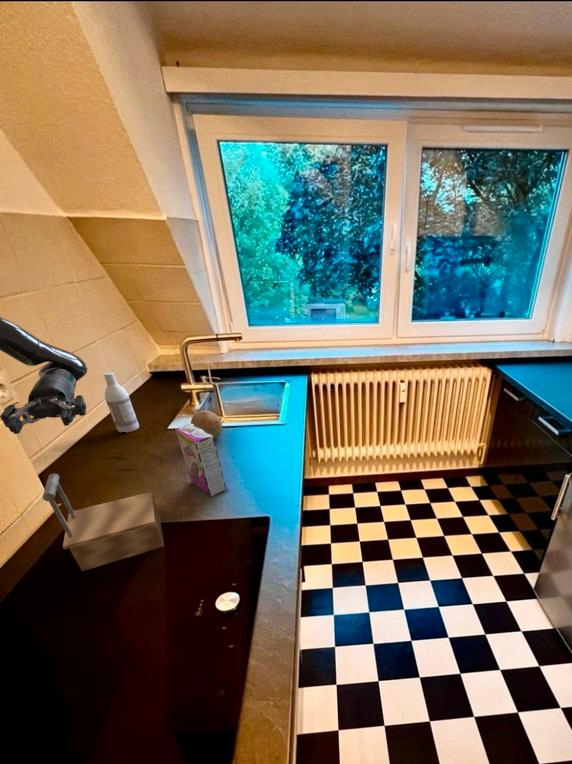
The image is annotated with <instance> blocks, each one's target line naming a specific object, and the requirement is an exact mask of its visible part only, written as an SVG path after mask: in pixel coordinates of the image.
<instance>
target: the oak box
mask: <svg viewBox="0 0 572 764" xmlns="http://www.w3.org/2000/svg"><path fill="white" fill-rule="evenodd" d="M152 498H153V507H154V515H155V523H156V524H154V525H150V526H147V527H143V528H140V529H136V530H133V531H129V532H125V533H122V534H118V535H115V536H111V537H107V538H104V539H100V540H97V541H93V542H90V543H86V544H82V545H79V546H75V547H72V548H68V549H69V551H70V552H71V554H72V556H73V558H74V560H75V561H76V563H77V565H78V566H79V569H80V570H81V572H84V571H89V570H91V569H94V568H97V567H101V566H104V565H108V564H111V563H115V562H117V561H120V560H124V559H127V558H130V557H134V556H138V555H141V554H144V553H147V552H151V551H155V550H157V549H160V548H161V549H162V548H164V547H165V541H164V535H163V527H162V521H161V514H160V511H159V510H158V507H157V503H156V502H155V499H154V495H152Z"/></svg>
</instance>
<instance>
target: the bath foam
mask: <svg viewBox="0 0 572 764" xmlns="http://www.w3.org/2000/svg"><path fill="white" fill-rule="evenodd" d="M103 377H104V380H105V383H106V388H105V391H104V399H105V402H106V405H107V407H108V410H109V412H110V413H109V414H110V415H111V418H112V421H113V423H114V425H115V428H116V430H117V432H119V433H121V432H126V433H128V434H129V433H132V432H135V431H137V430H138V429H139V428H140V424H139V421H138V419H137V416H136V413H135V410H134V408H133V404H132V402H131V398H130V395H129V394H128V392H127V390H126V389H125V388H124V387H123V386H121V385H120V384H119V383H118V382H117V379H116V376H115V373H114V372H113V371H107V372H104V373H103ZM126 433H125V434H126Z"/></svg>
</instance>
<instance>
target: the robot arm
mask: <svg viewBox="0 0 572 764" xmlns="http://www.w3.org/2000/svg"><path fill="white" fill-rule="evenodd" d="M0 352H3V353H4V354H6V355H7V356H10V357H11V358H13V359H14V360H16V361H18V362H20V363H21V364H23V365H25V366H28V367H37V366H39V365H42V364H44V363H46V364H44V365H43V366H42V367H41V369H39V371H38V377H39V379H37V380H36V382H35V383H34V385H33V387H32V389H31V390H30V392H29V394H28V397H27V403H25V404H23V406H21V407H16V405H15V404H10V405H8V406H6V408H5V409H4V410H3V412H2V413H1V414H0V419H1V421H2V423H3V424H4V426H5V427H6V428H8V430H9V431H10V433H13V434H14V435H18V434H20V433H21V431H22V429H23V427H24V426H26V425H27V424H31V425H32V424H34V423H36V422H38V421H40V420H44V419H45V420H46V419H47V418H49V419H50V418H51V419H56V418H60V420H61V422H62V423H63V426H64V427H67V426H70V424H71V423H73V421H74V419H76V417H77V416H78V415H79V416H80V417H82V416H85V415H86V414H87V403H86V401H85V399H84V397H83V395H82V394H79V395H78V394H77V395H76V394H75V392H76V389H77V382H78V381H80V380H81V379H82V378H83V377H85V376H86V375H87V373H88V366H87V364H86V361H84V359H82V358H81V357H80V356H78V355H76V354H75V353H73V352H71V351H68V350H66V349H63V348H60V347H57V346H55V345H52V344H50V343H48V342H45V341H43V340H42V339H40V338H38V337H37V336H35V335H34V334H32V333H30V331H27V330H26V329H24V328H23V327H22V326H20V325H18V324H16V323H15V322H12V321H10V320H8V319H6V318H4V317H2V316H0ZM75 395H76V396H75ZM21 419H22V420H21Z"/></svg>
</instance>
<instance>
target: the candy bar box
mask: <svg viewBox="0 0 572 764" xmlns="http://www.w3.org/2000/svg"><path fill="white" fill-rule="evenodd" d="M174 431H175V434H176V436H177V440H178V443H179V447H180V450H181V452H182V453H181V454H182V455H183V459H184V463H185V466H186V469H187V473H188V476H189V479H190V482H191V483H193V484H194V485H195V486H197V487H198V488H199V489H200V490H202V491H203V492H204V493H205V494H206V495H208V496H209V497H210V498H212V497H214V496H216V495H219V494H220V493H223V492H224V491H227V487H226V482H225V478H224V474H223V471H222V468H221V461H220V458H219V455H218V451H217V447H216V443H215V439H214V438H213V436H212V435H210V434H208V433H207V432H205V431H204V430H202V429H200V428H199V427H197V426H195V425H194V424H191V423H189V424H185V425H183V426H179V427H176V428H175V429H174Z"/></svg>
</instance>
